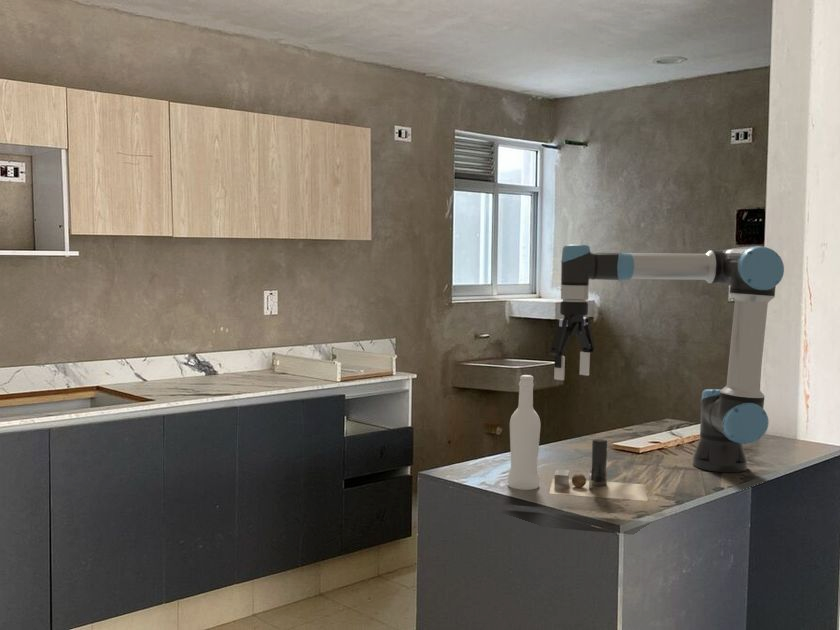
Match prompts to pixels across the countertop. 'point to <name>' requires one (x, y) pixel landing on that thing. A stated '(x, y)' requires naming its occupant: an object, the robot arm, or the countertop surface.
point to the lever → (598, 461)
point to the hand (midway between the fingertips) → (572, 377)
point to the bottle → (524, 439)
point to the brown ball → (579, 480)
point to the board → (597, 488)
